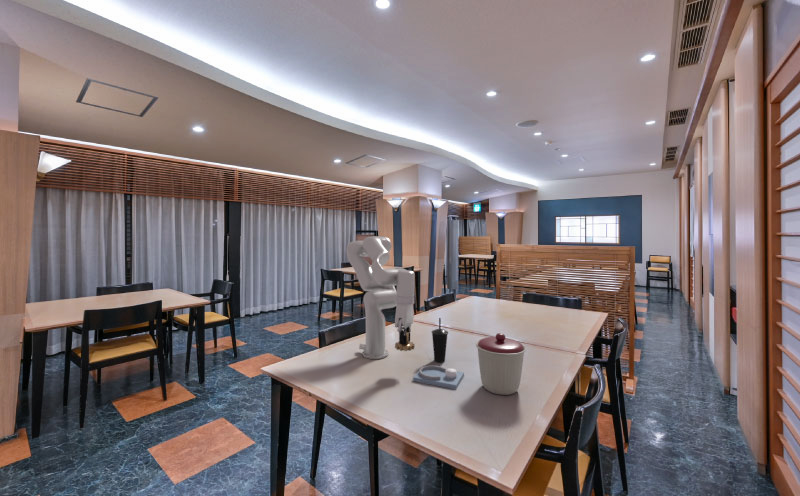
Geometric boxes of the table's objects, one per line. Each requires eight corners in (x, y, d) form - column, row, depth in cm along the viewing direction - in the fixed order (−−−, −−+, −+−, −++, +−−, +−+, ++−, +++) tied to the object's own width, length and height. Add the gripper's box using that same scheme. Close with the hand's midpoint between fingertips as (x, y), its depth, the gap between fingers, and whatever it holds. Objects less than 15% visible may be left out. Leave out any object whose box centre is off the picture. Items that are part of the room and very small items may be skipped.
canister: (519, 405, 110) (520, 344, 110) (468, 392, 120) (469, 335, 119) (529, 385, 126) (530, 331, 125) (483, 375, 135) (484, 324, 135)
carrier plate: (413, 380, 129) (413, 371, 129) (423, 369, 141) (423, 359, 141) (456, 389, 122) (456, 378, 122) (463, 375, 134) (464, 366, 134)
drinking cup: (447, 364, 146) (447, 320, 146) (430, 363, 148) (430, 319, 147) (448, 358, 154) (448, 316, 153) (432, 357, 155) (432, 315, 155)
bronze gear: (391, 349, 136) (392, 333, 136) (399, 343, 143) (399, 328, 143) (410, 352, 133) (410, 336, 132) (417, 346, 140) (417, 331, 140)
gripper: (404, 295, 146) (404, 336, 147) (388, 302, 131) (388, 347, 132) (420, 297, 143) (419, 338, 144) (406, 304, 128) (405, 350, 129)
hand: (404, 342), depth 138 cm, fingers closed on bronze gear, 3 cm apart
